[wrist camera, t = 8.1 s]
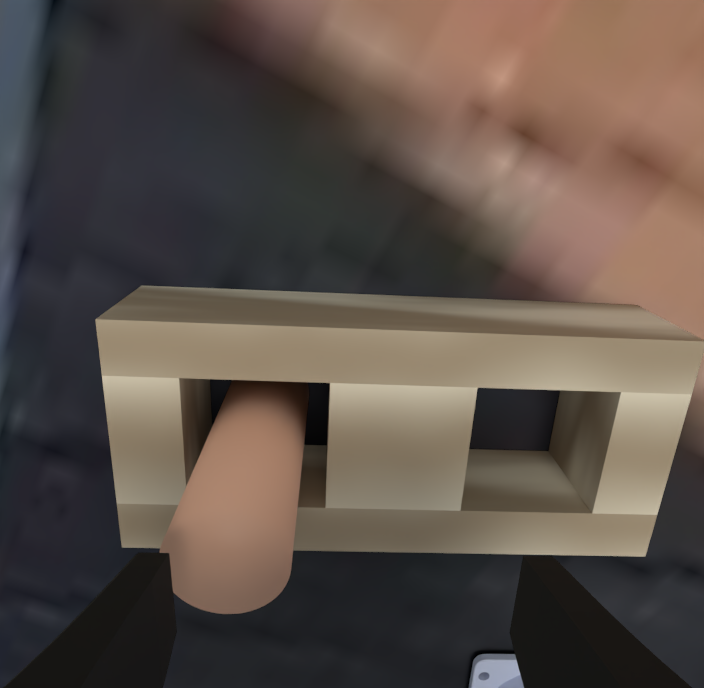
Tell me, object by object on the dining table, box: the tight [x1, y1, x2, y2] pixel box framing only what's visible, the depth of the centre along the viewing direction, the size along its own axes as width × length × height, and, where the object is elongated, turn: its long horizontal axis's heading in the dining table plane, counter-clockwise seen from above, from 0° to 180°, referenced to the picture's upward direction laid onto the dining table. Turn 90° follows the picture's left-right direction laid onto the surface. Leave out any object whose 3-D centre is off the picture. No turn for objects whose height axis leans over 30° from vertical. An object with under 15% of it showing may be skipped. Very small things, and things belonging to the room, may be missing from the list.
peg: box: [159, 380, 309, 614], centre depth 17 cm, size 3×3×9 cm
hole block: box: [95, 286, 704, 556], centre depth 19 cm, size 8×18×4 cm, turn 87°
